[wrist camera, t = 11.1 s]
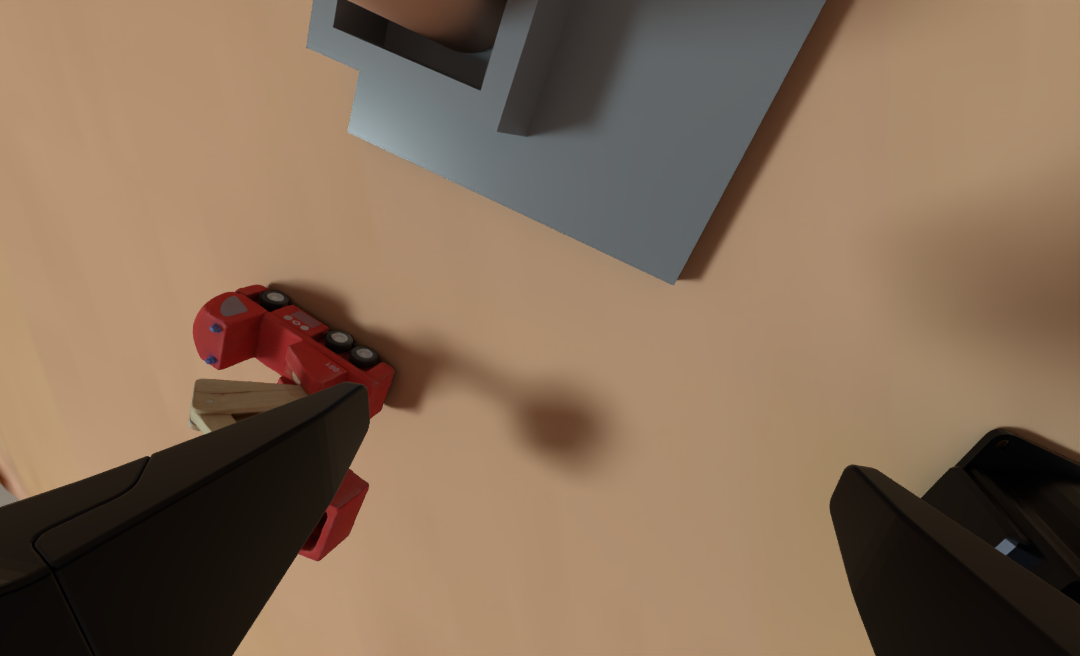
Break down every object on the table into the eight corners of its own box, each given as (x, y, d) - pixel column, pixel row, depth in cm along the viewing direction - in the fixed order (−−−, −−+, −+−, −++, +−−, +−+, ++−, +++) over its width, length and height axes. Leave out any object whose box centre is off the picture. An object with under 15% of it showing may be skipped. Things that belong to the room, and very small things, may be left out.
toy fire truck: (259, 275, 27) (51, 325, 19) (458, 401, 26) (330, 521, 17) (249, 323, 29) (51, 389, 20) (437, 445, 27) (309, 577, 18)
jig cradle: (893, -130, 14) (955, -229, 11) (675, 280, 20) (668, 304, 17) (441, -265, 17) (370, -382, 13) (360, 132, 23) (294, 125, 19)
